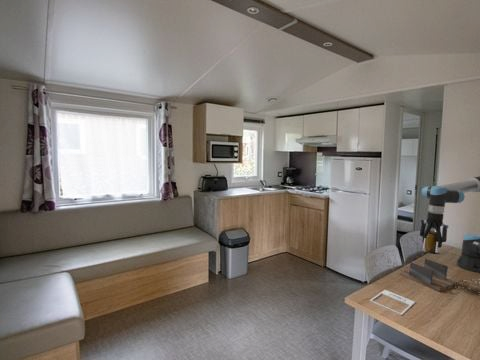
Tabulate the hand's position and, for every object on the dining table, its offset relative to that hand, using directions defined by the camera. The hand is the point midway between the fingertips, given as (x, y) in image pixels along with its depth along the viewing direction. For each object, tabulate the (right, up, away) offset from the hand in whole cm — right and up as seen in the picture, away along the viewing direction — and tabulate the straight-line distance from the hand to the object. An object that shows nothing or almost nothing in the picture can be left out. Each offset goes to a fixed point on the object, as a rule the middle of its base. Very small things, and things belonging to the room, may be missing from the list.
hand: (430, 250), depth 159 cm
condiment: (0, -1, -1) cm, 1 cm away
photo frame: (-37, -20, -24) cm, 49 cm away
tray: (-1, -19, +2) cm, 19 cm away
